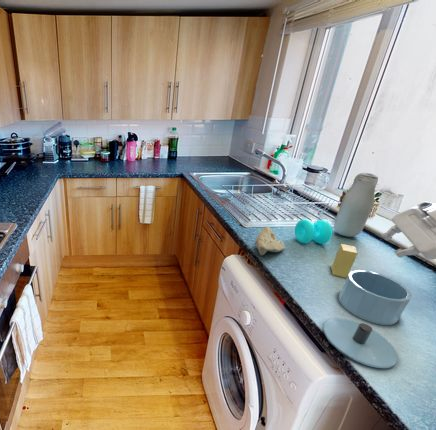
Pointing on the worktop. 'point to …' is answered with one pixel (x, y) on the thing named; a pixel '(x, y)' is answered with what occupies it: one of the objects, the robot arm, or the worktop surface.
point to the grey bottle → (356, 205)
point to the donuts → (313, 231)
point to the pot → (374, 297)
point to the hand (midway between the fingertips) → (389, 245)
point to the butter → (344, 260)
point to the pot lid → (360, 343)
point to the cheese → (268, 241)
